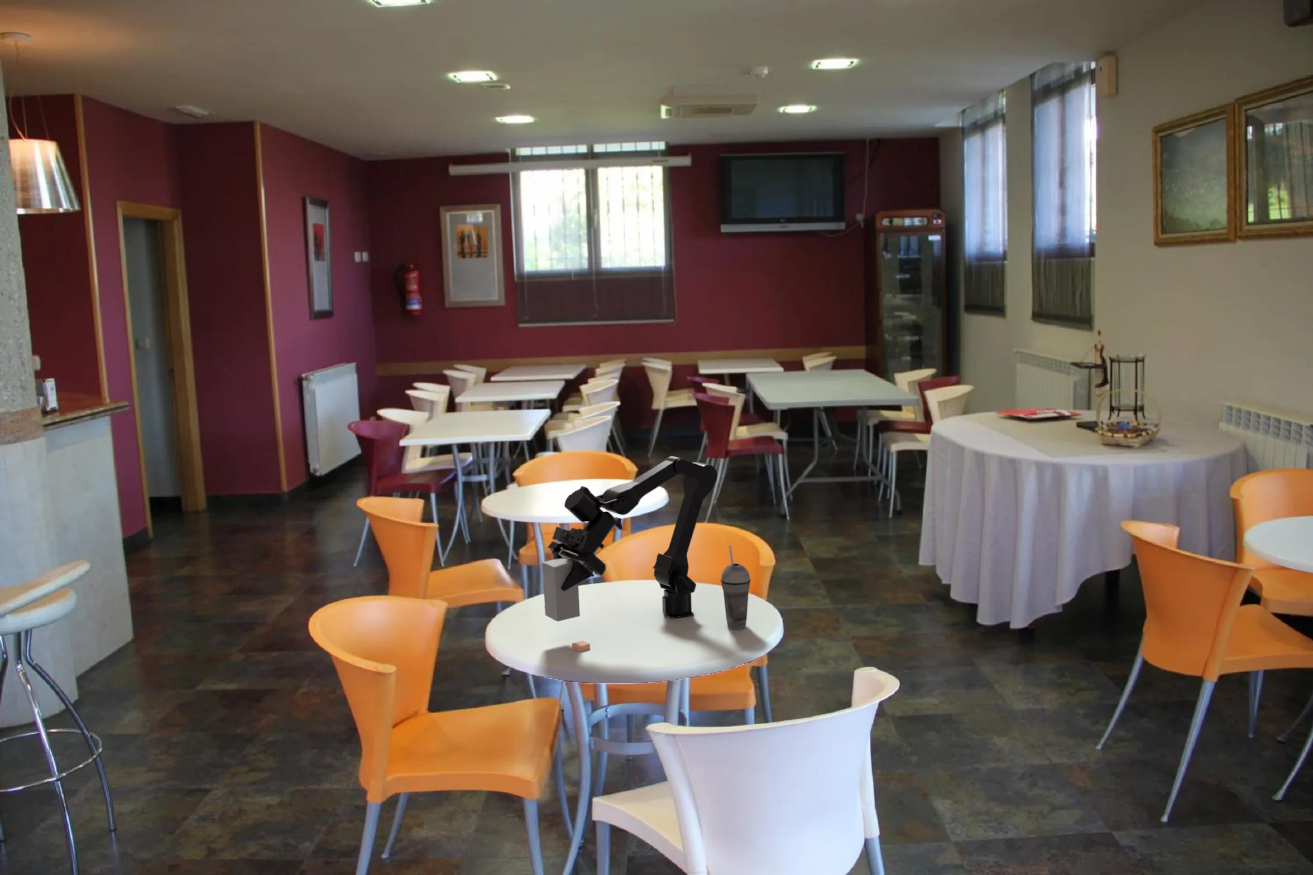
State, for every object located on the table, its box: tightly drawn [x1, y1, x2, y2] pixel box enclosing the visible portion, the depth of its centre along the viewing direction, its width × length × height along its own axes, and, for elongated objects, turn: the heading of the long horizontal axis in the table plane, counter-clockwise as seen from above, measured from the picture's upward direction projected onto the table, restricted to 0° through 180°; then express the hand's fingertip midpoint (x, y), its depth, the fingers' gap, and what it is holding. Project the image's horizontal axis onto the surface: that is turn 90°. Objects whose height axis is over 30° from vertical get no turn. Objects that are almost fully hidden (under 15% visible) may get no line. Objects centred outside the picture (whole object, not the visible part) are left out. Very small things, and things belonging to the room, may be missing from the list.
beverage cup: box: [720, 545, 751, 630], centre depth 261 cm, size 7×7×20 cm
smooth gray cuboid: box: [542, 557, 581, 622], centre depth 254 cm, size 6×6×13 cm
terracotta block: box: [571, 640, 591, 652], centre depth 250 cm, size 3×3×2 cm
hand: (555, 586), depth 253 cm, fingers closed on smooth gray cuboid, 6 cm apart
